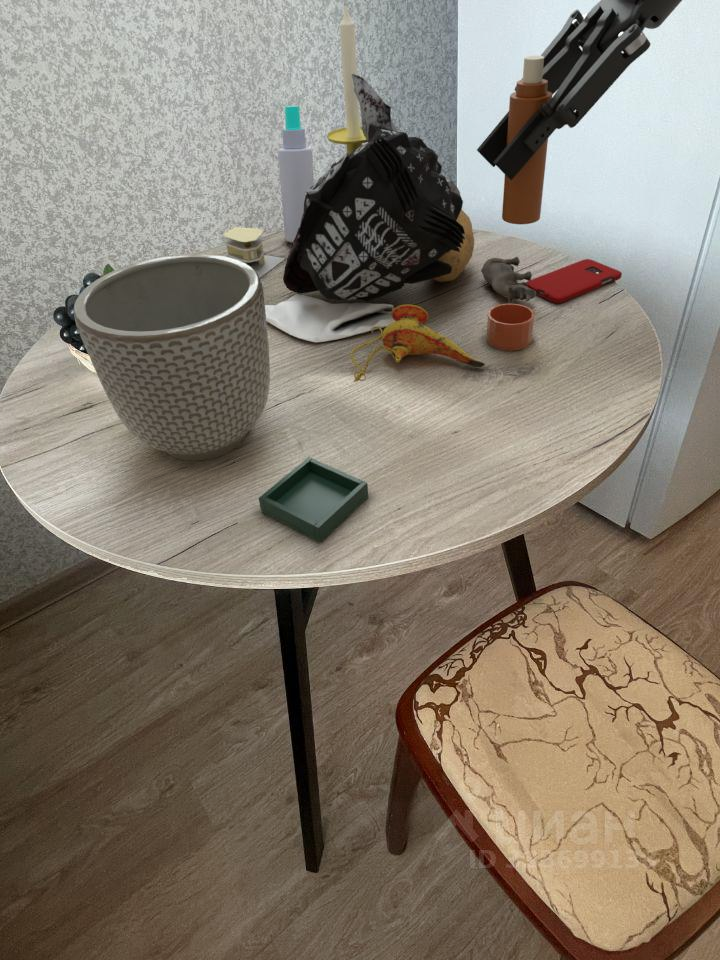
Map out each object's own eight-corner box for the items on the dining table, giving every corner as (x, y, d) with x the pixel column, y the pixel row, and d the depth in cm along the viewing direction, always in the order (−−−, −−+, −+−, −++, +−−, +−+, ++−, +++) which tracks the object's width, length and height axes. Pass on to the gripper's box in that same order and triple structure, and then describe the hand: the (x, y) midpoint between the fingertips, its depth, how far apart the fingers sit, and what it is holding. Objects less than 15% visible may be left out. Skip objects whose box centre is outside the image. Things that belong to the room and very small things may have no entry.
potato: (404, 292, 111) (403, 235, 105) (433, 254, 122) (434, 200, 116) (456, 299, 108) (458, 240, 102) (482, 259, 119) (485, 203, 113)
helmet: (245, 264, 89) (407, 70, 83) (220, 225, 110) (347, 69, 104) (380, 382, 102) (527, 222, 97) (335, 327, 124) (453, 194, 118)
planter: (114, 414, 90) (64, 275, 78) (260, 377, 95) (235, 239, 83) (135, 508, 76) (79, 356, 64) (306, 458, 81) (284, 307, 68)
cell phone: (558, 299, 105) (557, 305, 105) (624, 271, 110) (623, 277, 111) (521, 282, 110) (521, 287, 110) (587, 256, 115) (586, 262, 116)
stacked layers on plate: (211, 271, 123) (204, 240, 119) (239, 251, 129) (234, 221, 125) (259, 278, 119) (253, 247, 115) (285, 258, 125) (281, 228, 121)
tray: (368, 497, 75) (367, 482, 74) (320, 543, 70) (318, 528, 69) (310, 470, 79) (308, 456, 78) (261, 512, 74) (258, 497, 73)
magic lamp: (484, 336, 98) (479, 406, 94) (357, 324, 99) (347, 393, 95) (491, 307, 92) (487, 381, 88) (356, 295, 93) (345, 368, 89)
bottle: (545, 213, 83) (562, 54, 72) (531, 226, 80) (547, 62, 69) (510, 209, 84) (522, 52, 74) (495, 221, 82) (505, 60, 71)
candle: (360, 243, 128) (345, -4, 103) (401, 256, 122) (395, -2, 98) (321, 261, 122) (295, 6, 98) (362, 276, 117) (345, 9, 93)
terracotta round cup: (538, 335, 99) (541, 310, 96) (518, 355, 95) (521, 328, 93) (499, 325, 102) (501, 299, 99) (478, 343, 98) (480, 317, 96)
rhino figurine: (543, 313, 105) (505, 317, 104) (509, 274, 115) (475, 277, 114) (547, 287, 102) (509, 291, 101) (513, 250, 112) (477, 253, 111)
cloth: (232, 330, 105) (229, 316, 104) (276, 291, 115) (274, 278, 113) (392, 357, 96) (391, 343, 95) (425, 313, 106) (425, 299, 104)
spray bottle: (308, 244, 126) (299, 106, 115) (279, 242, 129) (267, 107, 118) (323, 237, 131) (315, 105, 120) (295, 236, 133) (285, 106, 122)
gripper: (732, 5, 64) (547, 211, 73) (634, -11, 78) (486, 165, 86) (694, -62, 60) (502, 164, 69) (597, -67, 74) (446, 123, 82)
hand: (493, 164), depth 77 cm, fingers closed on bottle, 4 cm apart
